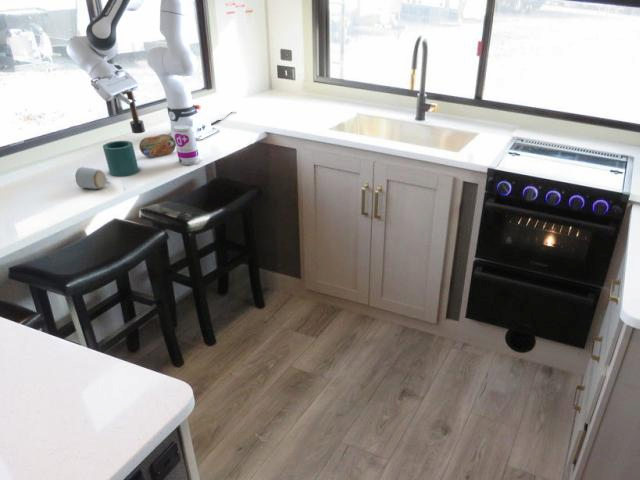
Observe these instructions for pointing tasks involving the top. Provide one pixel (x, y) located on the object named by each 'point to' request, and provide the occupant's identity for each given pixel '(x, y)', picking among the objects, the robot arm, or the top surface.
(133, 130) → the dish brush
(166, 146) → the tin
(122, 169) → the teal pen holder
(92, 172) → the ceramic mug
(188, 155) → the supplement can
